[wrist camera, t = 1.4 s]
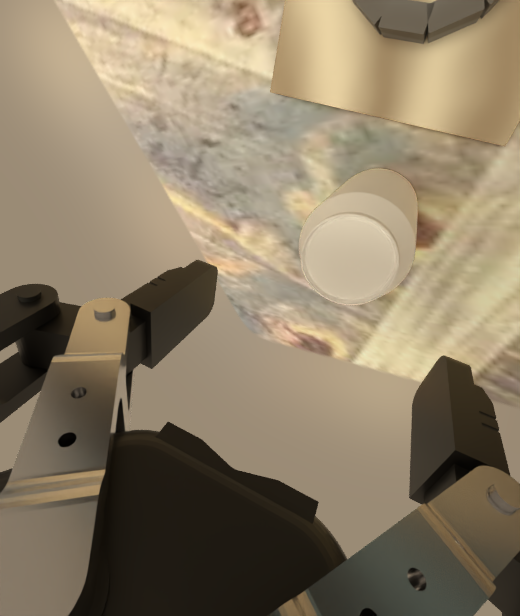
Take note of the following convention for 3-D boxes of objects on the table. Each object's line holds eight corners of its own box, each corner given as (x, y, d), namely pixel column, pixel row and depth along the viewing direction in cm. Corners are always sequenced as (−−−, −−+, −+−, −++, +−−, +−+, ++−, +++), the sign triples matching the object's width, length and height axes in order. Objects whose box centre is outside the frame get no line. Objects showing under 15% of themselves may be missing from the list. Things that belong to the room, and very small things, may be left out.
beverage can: (432, 175, 23) (438, 218, 14) (400, 254, 27) (387, 331, 17) (348, 158, 25) (301, 185, 15) (327, 234, 28) (279, 295, 19)
